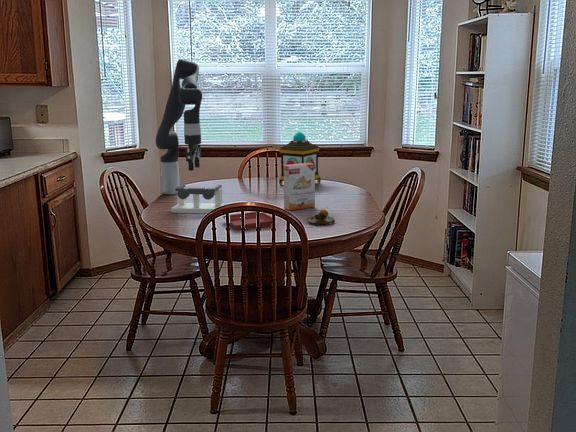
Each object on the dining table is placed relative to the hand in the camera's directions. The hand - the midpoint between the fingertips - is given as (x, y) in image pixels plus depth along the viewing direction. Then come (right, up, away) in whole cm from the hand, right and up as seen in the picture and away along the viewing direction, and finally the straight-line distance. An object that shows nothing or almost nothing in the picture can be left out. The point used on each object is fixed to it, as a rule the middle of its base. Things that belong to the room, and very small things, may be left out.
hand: (194, 168), depth 271 cm
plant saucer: (+26, -26, -20) cm, 42 cm away
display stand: (+1, -19, +7) cm, 20 cm away
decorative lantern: (+50, -4, +66) cm, 83 cm away
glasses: (+1, -13, +7) cm, 15 cm away
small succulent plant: (+57, -25, -20) cm, 65 cm away
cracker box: (+49, -18, +7) cm, 52 cm away
